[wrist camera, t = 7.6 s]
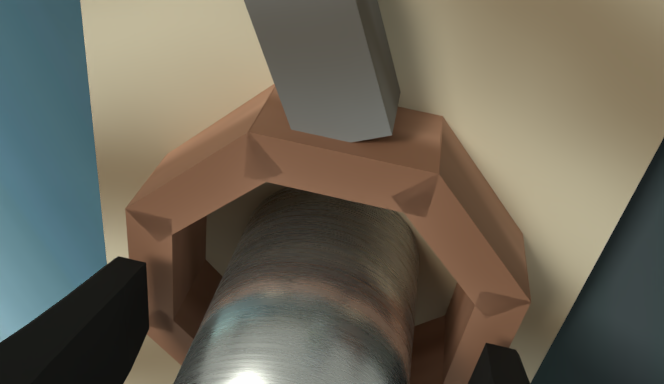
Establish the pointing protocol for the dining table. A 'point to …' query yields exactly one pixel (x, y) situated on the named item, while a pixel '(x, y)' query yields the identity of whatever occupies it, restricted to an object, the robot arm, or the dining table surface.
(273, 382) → the cylinder
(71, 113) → the dining table surface
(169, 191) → the coupling stand
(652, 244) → the dining table surface
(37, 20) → the dining table surface
